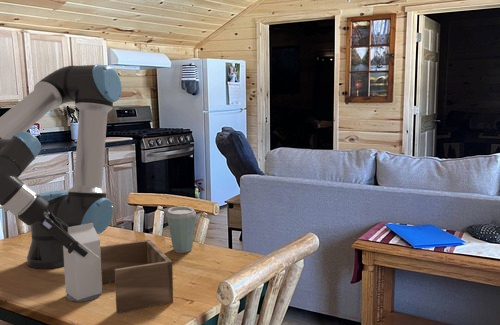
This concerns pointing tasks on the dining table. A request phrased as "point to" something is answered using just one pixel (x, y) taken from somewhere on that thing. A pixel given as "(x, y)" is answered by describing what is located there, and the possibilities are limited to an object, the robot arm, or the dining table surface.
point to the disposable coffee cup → (181, 227)
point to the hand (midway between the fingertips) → (91, 254)
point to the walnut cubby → (137, 274)
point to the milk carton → (83, 264)
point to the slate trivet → (82, 299)
